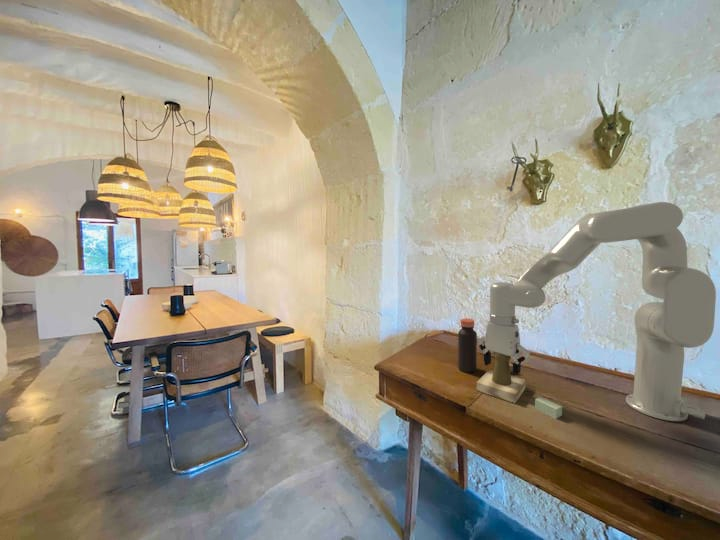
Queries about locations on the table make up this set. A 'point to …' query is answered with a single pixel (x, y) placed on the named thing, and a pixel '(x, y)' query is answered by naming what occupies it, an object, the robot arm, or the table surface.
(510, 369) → the walnut brick
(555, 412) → the sage brick
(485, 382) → the beech board
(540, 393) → the table surface
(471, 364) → the bottle
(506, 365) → the cork
